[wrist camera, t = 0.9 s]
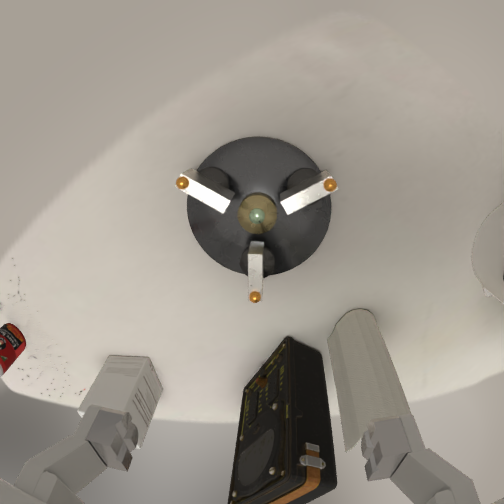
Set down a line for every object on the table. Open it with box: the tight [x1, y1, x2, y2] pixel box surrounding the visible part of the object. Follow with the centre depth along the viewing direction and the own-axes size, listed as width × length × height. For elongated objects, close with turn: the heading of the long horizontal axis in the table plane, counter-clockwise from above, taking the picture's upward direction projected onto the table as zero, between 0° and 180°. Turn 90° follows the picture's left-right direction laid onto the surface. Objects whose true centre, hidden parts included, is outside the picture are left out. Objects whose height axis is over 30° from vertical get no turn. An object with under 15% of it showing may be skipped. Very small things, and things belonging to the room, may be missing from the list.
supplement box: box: [78, 356, 163, 449], centre depth 47 cm, size 9×9×15 cm
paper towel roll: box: [327, 309, 411, 452], centre depth 36 cm, size 7×6×21 cm
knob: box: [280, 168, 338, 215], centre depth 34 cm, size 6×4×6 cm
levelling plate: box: [187, 137, 331, 275], centre depth 38 cm, size 18×18×4 cm
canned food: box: [0, 323, 26, 377], centre depth 50 cm, size 8×8×11 cm
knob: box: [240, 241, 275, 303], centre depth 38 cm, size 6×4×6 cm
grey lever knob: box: [175, 166, 235, 213], centre depth 35 cm, size 6×4×6 cm
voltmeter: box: [228, 337, 337, 504], centre depth 39 cm, size 16×9×25 cm, turn 152°
